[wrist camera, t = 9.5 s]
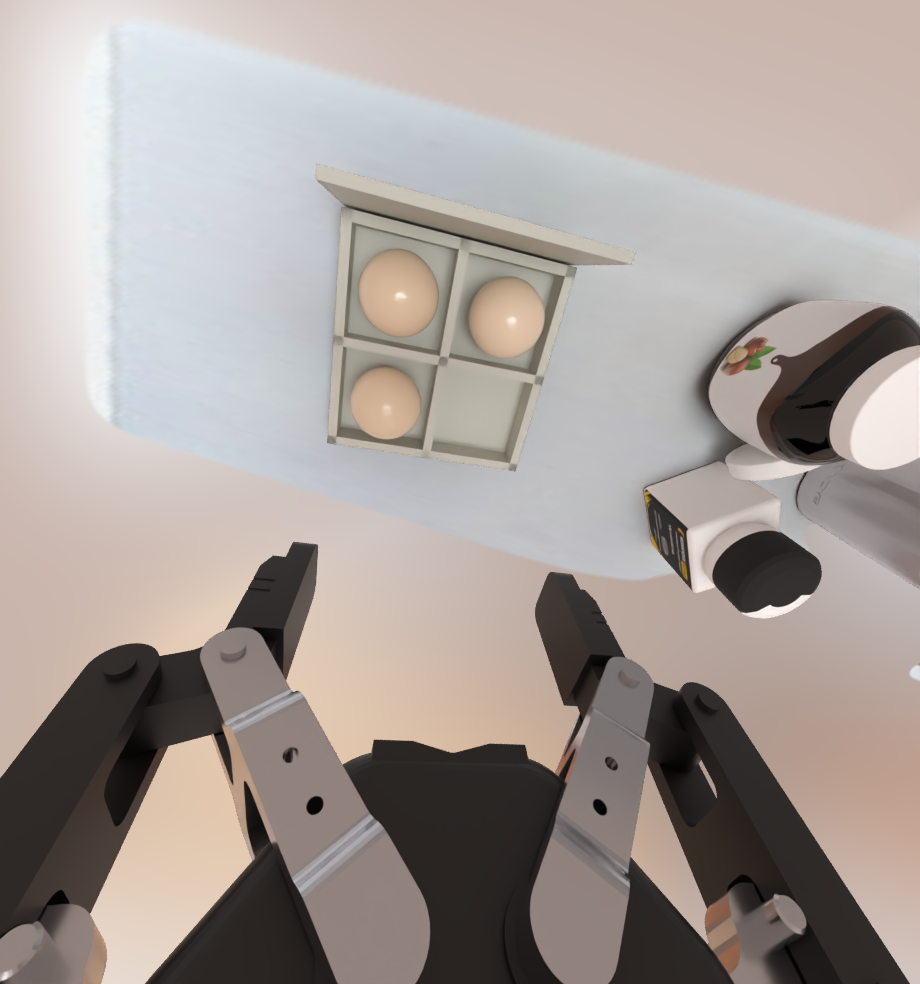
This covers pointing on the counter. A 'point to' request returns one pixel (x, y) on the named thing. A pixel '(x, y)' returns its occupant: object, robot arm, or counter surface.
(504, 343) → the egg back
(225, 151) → the counter surface
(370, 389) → the egg
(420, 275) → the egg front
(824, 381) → the spread jar
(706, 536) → the medicine bottle
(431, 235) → the egg tray
